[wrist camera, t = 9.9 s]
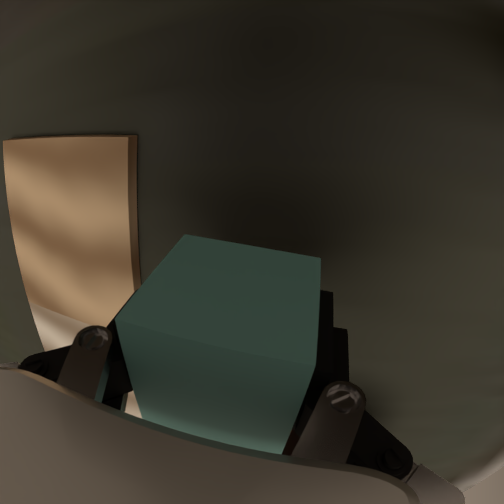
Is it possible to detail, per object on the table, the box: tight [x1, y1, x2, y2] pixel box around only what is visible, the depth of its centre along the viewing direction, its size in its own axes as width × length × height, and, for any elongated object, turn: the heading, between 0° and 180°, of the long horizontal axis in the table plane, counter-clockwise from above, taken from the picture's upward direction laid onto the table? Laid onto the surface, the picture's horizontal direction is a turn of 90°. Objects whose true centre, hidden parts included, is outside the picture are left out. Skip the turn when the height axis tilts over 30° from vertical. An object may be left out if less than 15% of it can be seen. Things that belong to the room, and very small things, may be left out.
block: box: [115, 234, 321, 454], centre depth 11 cm, size 5×5×5 cm
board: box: [3, 135, 142, 418], centre depth 23 cm, size 28×12×1 cm, turn 174°
